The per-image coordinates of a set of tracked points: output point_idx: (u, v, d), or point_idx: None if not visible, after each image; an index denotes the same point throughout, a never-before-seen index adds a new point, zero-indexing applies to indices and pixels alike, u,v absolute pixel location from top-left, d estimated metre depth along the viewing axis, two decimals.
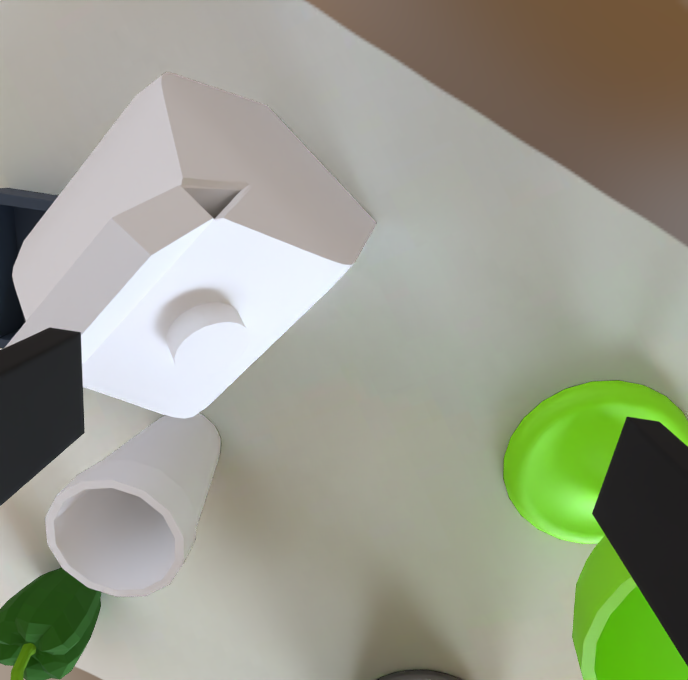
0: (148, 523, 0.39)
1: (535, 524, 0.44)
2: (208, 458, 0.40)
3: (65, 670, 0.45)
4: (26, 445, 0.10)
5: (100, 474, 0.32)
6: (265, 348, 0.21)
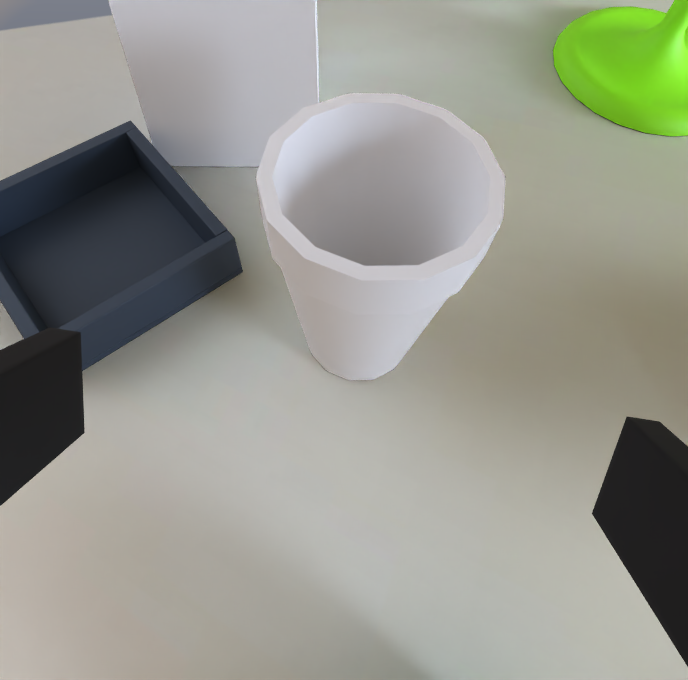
0: None
1: None
2: None
3: None
4: (26, 445, 0.10)
5: None
6: None
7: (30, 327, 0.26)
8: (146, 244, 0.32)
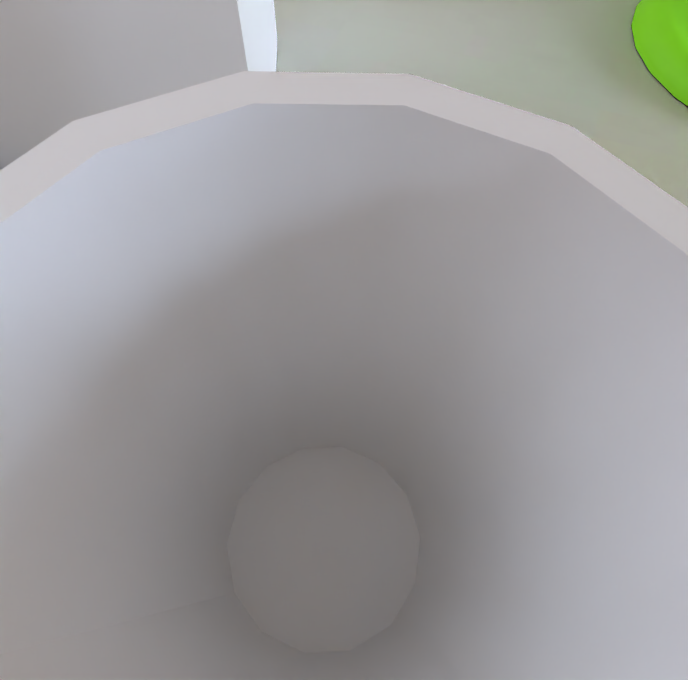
0: None
1: None
2: None
3: None
4: None
5: None
6: None
7: None
8: None
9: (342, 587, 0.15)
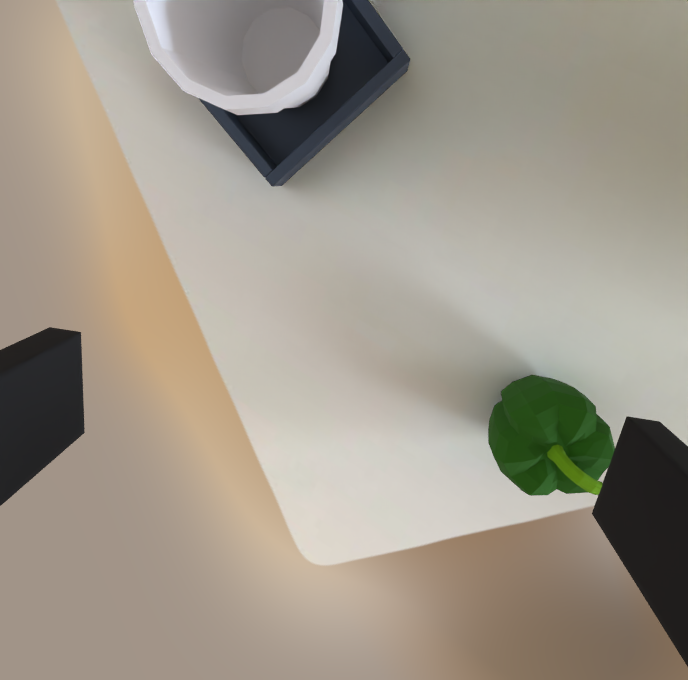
0: None
1: None
2: None
3: (612, 446, 0.35)
4: (26, 445, 0.10)
5: None
6: None
7: (262, 162, 0.34)
8: None
9: None
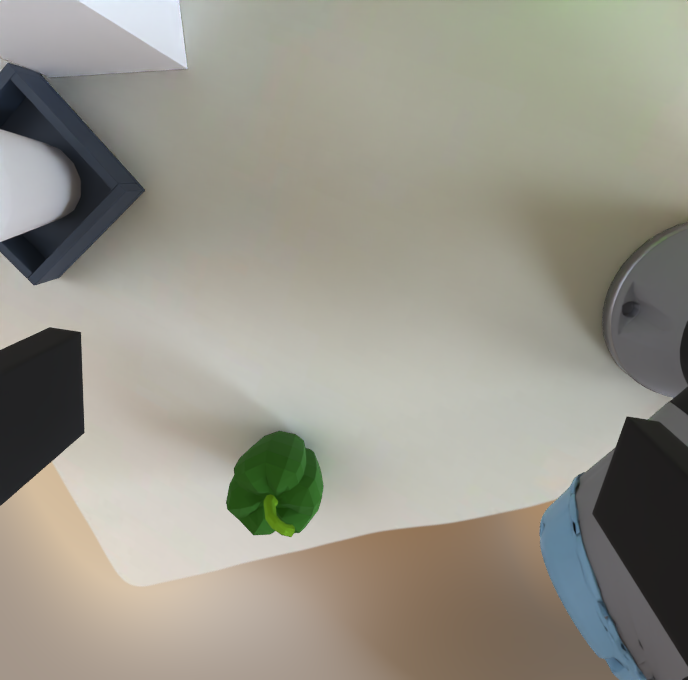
0: None
1: None
2: (20, 136, 0.37)
3: (311, 496, 0.43)
4: (26, 445, 0.10)
5: None
6: None
7: (23, 267, 0.42)
8: None
9: None
